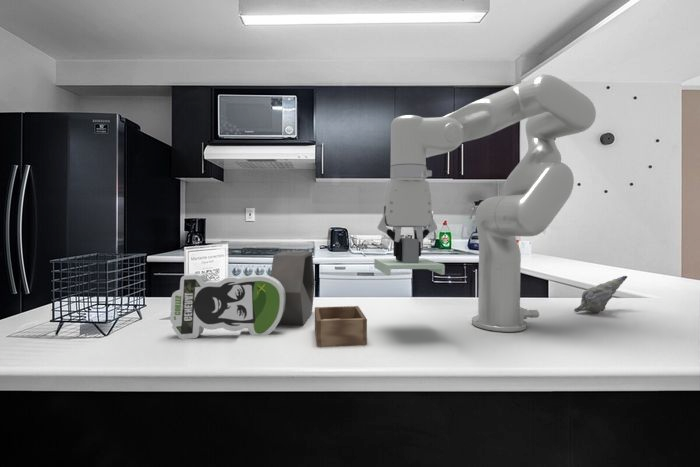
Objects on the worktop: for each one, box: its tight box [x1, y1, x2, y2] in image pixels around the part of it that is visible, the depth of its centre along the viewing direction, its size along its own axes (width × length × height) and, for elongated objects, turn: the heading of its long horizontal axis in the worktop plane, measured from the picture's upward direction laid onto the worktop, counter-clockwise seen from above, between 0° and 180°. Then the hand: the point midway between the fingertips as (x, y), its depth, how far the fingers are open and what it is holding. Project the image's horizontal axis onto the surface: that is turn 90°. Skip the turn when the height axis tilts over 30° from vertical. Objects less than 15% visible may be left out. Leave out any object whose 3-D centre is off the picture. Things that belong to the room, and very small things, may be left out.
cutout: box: [169, 272, 286, 340], centre depth 86 cm, size 15×3×25 cm
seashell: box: [573, 275, 628, 314], centre depth 107 cm, size 10×17×10 cm, turn 90°
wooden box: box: [314, 305, 368, 348], centre depth 83 cm, size 10×12×6 cm
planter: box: [269, 251, 316, 326], centre depth 99 cm, size 17×8×21 cm
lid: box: [373, 237, 446, 276], centre depth 84 cm, size 12×14×7 cm
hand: (407, 259), depth 84 cm, fingers closed on lid, 3 cm apart
